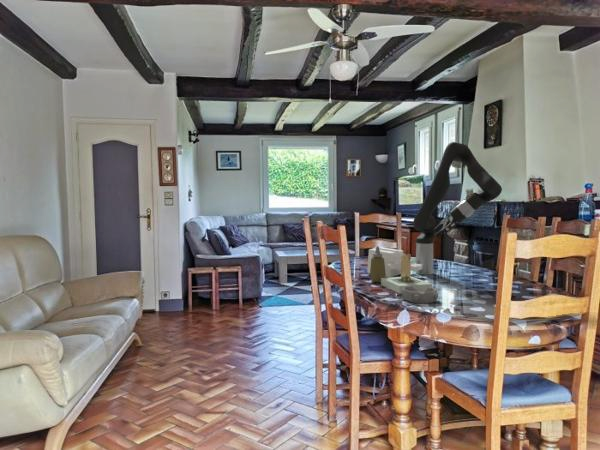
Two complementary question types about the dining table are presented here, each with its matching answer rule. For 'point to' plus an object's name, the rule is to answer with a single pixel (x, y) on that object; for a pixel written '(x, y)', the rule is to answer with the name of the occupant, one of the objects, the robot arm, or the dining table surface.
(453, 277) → the dining table surface
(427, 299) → the dish
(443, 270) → the dining table surface
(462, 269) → the dining table surface
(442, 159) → the robot arm
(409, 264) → the tan rectangular block
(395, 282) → the tray
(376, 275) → the squeeze bottle
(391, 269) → the blocky voxel creature
